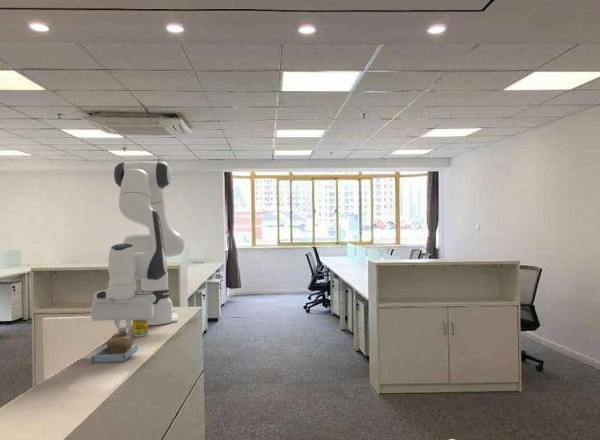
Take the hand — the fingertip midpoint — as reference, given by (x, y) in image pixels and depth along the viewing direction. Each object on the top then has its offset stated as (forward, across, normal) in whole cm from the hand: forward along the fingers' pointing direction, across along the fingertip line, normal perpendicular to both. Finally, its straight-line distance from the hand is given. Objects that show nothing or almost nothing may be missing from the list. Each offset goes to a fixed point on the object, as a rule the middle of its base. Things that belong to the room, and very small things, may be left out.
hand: (123, 332), depth 154 cm
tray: (+6, 0, +8) cm, 10 cm away
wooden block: (+2, 0, -1) cm, 2 cm away
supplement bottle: (+6, 0, -20) cm, 21 cm away
